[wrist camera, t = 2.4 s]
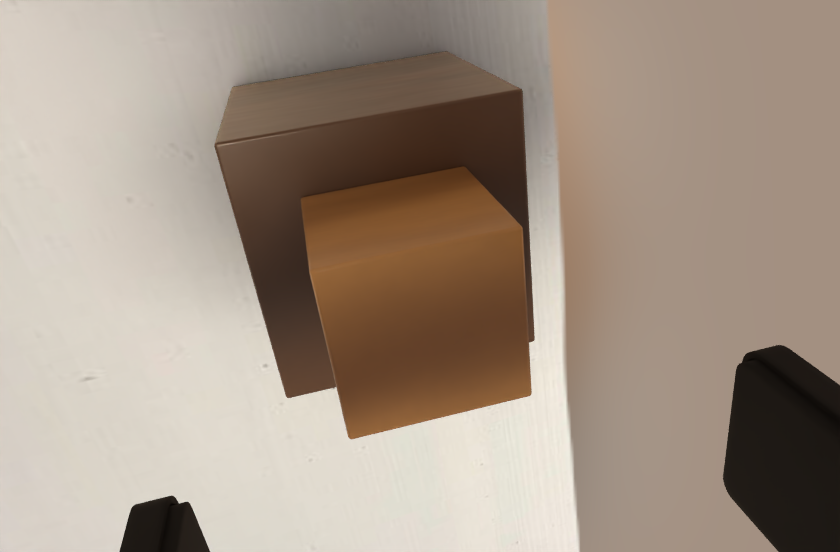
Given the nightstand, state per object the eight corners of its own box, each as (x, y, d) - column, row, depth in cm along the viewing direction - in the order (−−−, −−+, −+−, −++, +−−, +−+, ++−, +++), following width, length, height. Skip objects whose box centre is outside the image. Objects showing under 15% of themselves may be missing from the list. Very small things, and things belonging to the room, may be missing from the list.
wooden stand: (231, 86, 22) (213, 143, 15) (447, 50, 23) (523, 88, 16) (282, 282, 26) (286, 399, 19) (467, 243, 27) (535, 341, 20)
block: (299, 196, 16) (308, 270, 12) (465, 165, 17) (523, 226, 13) (332, 339, 19) (348, 441, 15) (478, 306, 19) (532, 396, 15)
